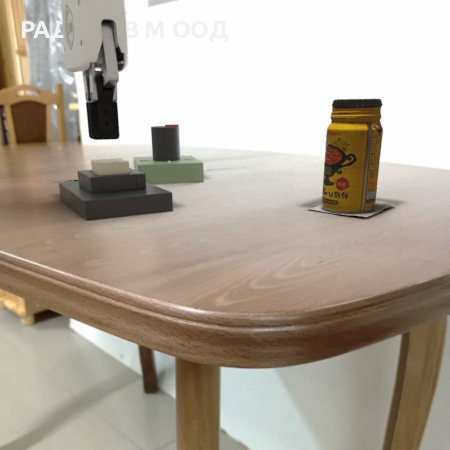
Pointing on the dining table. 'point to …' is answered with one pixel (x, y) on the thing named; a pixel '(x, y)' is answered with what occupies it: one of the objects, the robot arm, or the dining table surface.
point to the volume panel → (170, 170)
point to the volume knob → (165, 143)
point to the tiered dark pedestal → (114, 195)
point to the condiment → (353, 158)
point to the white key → (110, 166)
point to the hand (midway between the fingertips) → (104, 138)
